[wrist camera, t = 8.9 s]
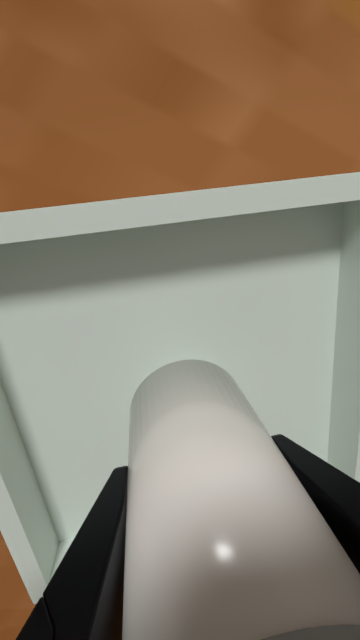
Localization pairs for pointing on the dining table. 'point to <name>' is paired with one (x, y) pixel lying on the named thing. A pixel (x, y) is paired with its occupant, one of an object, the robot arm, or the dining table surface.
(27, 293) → the tray
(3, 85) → the dining table surface
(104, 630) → the robot arm
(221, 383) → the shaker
